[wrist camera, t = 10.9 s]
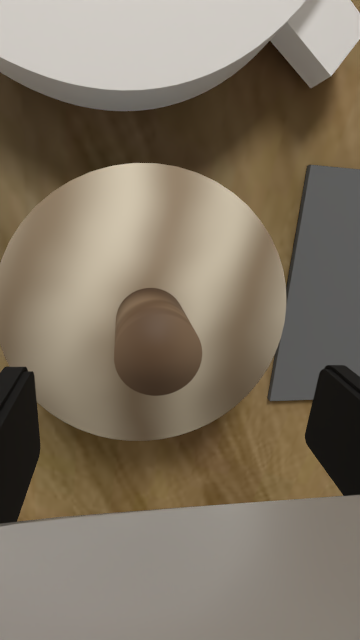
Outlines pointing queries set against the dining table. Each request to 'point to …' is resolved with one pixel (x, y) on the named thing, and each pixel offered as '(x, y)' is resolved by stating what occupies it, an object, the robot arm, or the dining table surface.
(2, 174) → the dining table surface
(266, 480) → the dining table surface
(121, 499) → the dining table surface
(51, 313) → the lid
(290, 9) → the ring with crossbar
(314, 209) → the mat
